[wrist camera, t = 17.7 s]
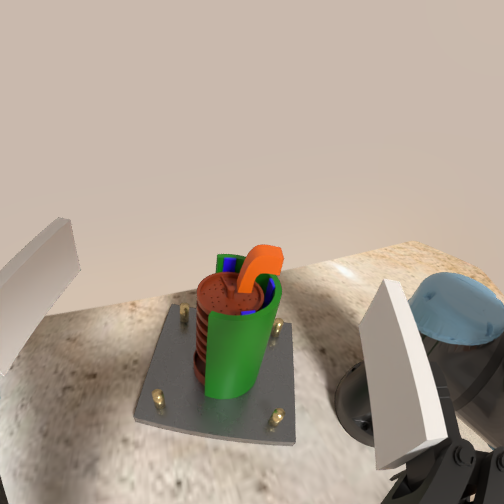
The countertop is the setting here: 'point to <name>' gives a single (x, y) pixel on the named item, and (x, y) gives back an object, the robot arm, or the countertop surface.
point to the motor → (236, 320)
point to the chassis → (218, 410)
